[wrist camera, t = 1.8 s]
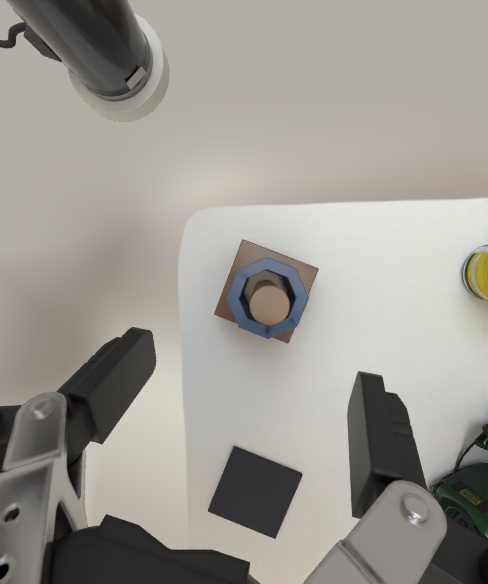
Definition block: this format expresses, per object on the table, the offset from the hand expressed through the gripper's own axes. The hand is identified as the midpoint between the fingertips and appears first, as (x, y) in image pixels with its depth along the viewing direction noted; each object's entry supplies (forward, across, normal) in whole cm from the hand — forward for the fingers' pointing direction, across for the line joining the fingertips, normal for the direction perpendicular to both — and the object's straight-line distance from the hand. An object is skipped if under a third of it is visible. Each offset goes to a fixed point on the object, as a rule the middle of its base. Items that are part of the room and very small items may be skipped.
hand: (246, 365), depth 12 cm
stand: (+23, +3, +9) cm, 25 cm away
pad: (+12, +1, +32) cm, 34 cm away
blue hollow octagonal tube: (+17, +2, +7) cm, 19 cm away
